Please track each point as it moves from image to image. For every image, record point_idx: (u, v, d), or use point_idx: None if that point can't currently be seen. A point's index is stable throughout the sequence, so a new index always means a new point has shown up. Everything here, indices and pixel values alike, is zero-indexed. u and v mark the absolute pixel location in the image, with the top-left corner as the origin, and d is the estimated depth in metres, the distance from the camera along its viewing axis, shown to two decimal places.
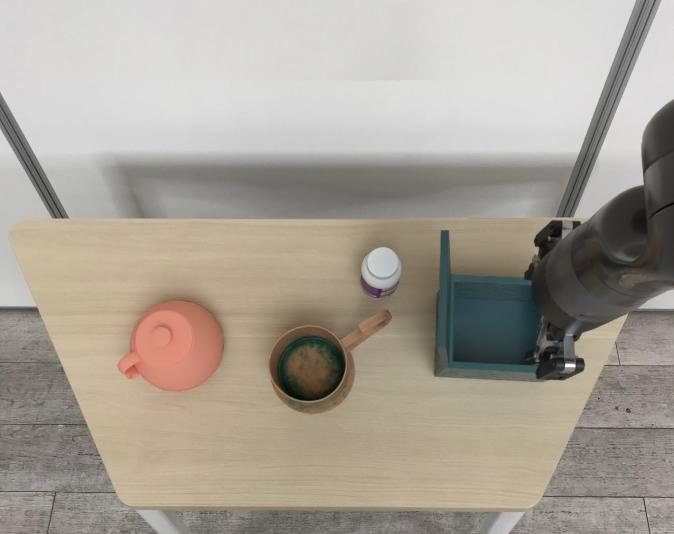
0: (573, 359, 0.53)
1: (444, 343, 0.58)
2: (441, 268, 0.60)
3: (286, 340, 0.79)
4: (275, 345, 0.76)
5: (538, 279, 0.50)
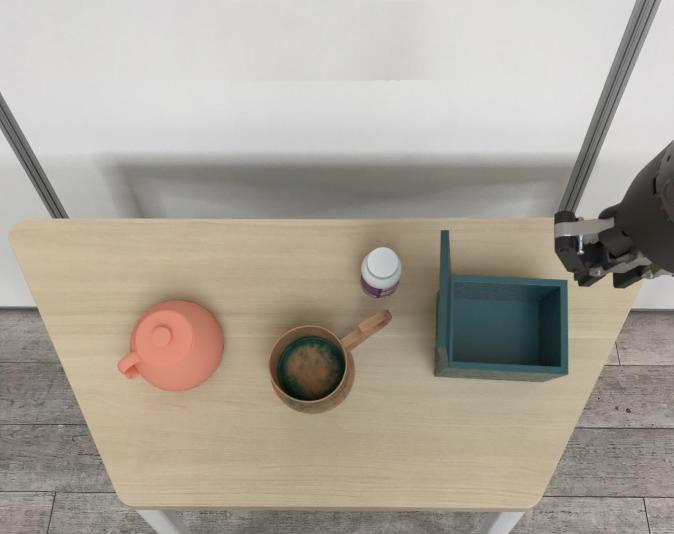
0: None
1: (444, 343, 0.58)
2: (441, 268, 0.60)
3: (286, 340, 0.79)
4: (275, 345, 0.76)
5: None
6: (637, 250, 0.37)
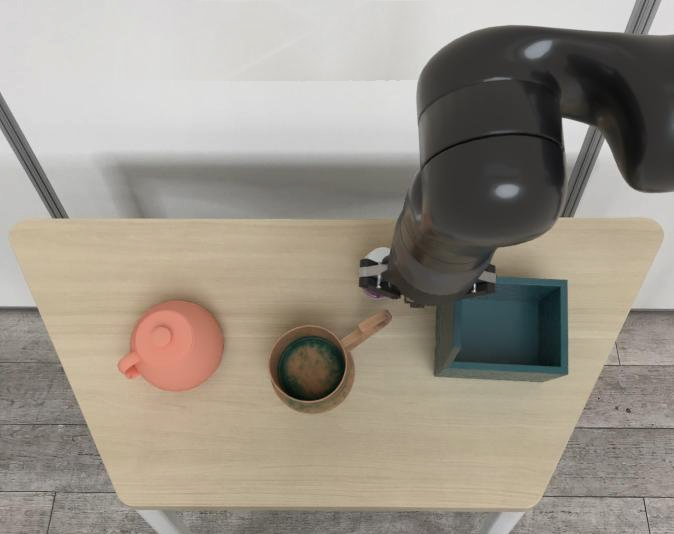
0: (490, 274, 0.55)
1: (459, 343, 0.58)
2: None
3: (286, 340, 0.79)
4: (275, 345, 0.76)
5: (434, 300, 0.49)
6: None
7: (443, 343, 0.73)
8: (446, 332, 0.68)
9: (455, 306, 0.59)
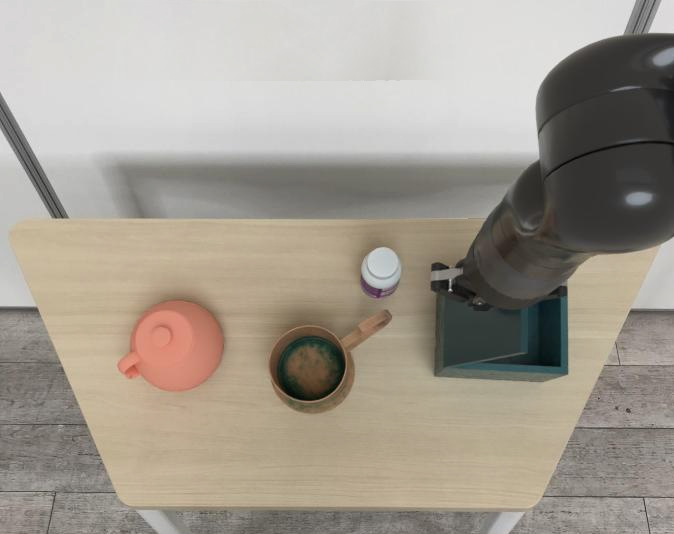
0: None
1: (526, 348, 0.59)
2: None
3: (286, 340, 0.79)
4: (275, 345, 0.76)
5: (515, 304, 0.49)
6: None
7: (447, 343, 0.73)
8: (468, 333, 0.68)
9: (522, 311, 0.60)
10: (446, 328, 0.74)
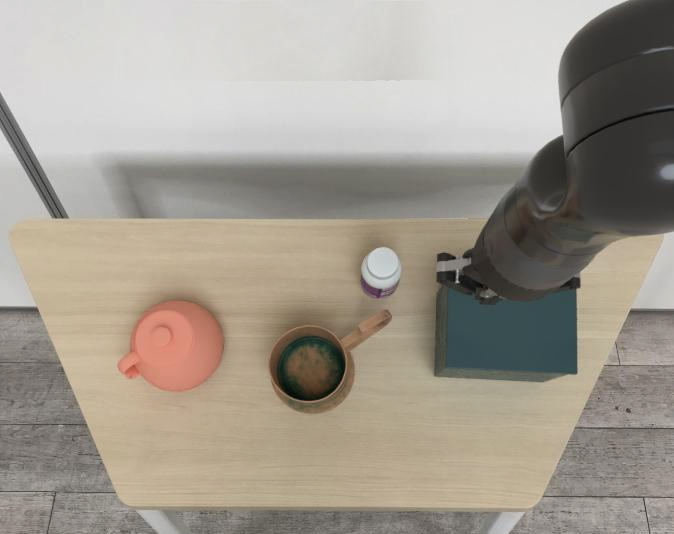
0: None
1: None
2: (576, 310, 0.74)
3: (286, 340, 0.79)
4: (275, 345, 0.76)
5: (527, 295, 0.46)
6: None
7: (455, 344, 0.74)
8: (495, 343, 0.74)
9: (576, 340, 0.74)
10: (452, 329, 0.74)
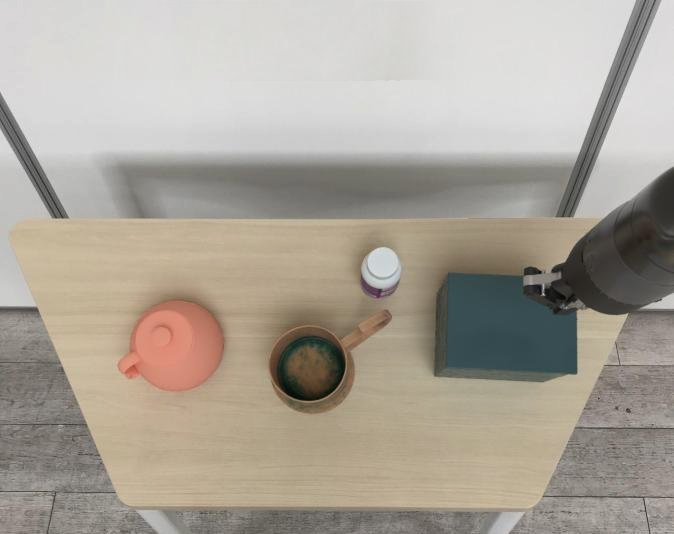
0: None
1: None
2: None
3: (286, 340, 0.79)
4: (275, 345, 0.76)
5: (622, 310, 0.49)
6: None
7: (455, 344, 0.74)
8: (495, 343, 0.74)
9: (576, 340, 0.74)
10: (452, 329, 0.74)
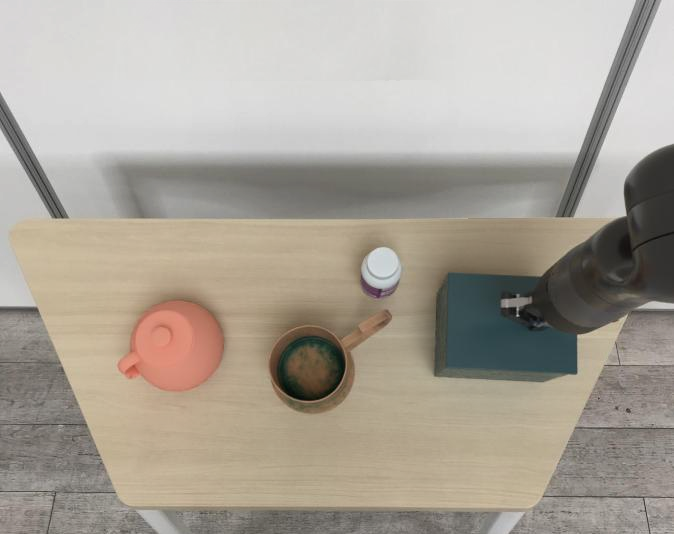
0: None
1: None
2: None
3: (286, 340, 0.79)
4: (275, 345, 0.76)
5: (581, 331, 0.58)
6: None
7: (455, 344, 0.74)
8: (495, 343, 0.74)
9: (576, 340, 0.74)
10: (452, 329, 0.74)
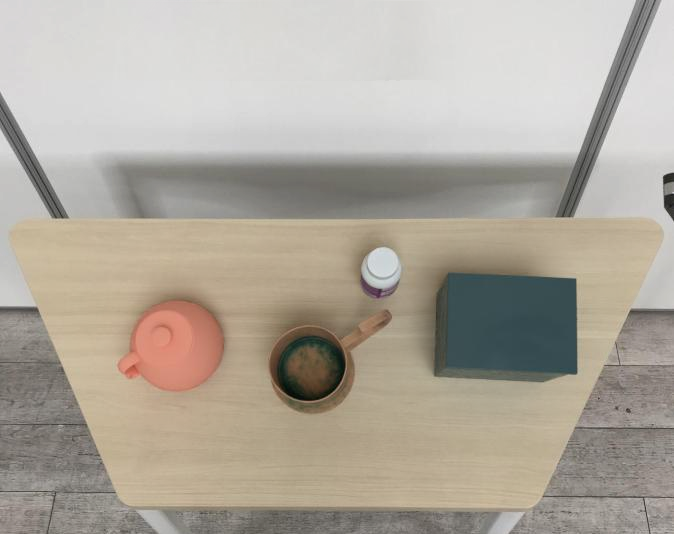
0: None
1: None
2: (576, 310, 0.74)
3: (286, 340, 0.79)
4: (275, 345, 0.76)
5: None
6: None
7: (455, 344, 0.74)
8: (495, 343, 0.74)
9: (576, 340, 0.74)
10: (452, 329, 0.74)
